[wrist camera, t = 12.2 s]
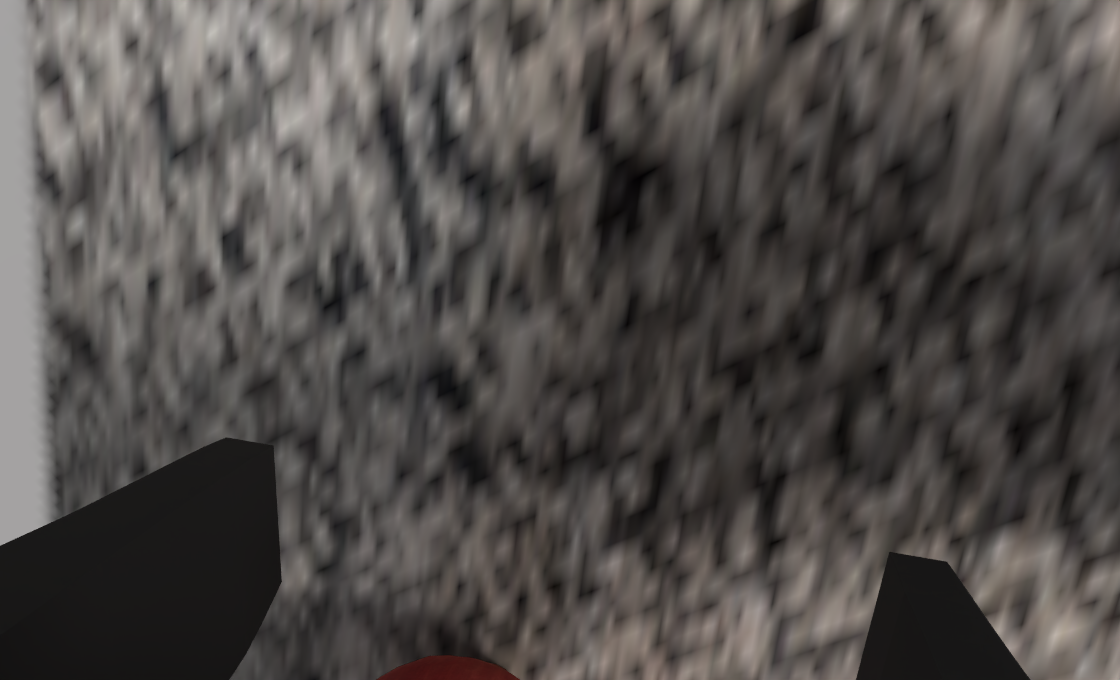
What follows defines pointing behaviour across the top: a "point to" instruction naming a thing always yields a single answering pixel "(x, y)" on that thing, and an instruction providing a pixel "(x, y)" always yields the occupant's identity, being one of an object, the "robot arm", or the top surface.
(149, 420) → the top surface
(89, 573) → the robot arm
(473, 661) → the onion
